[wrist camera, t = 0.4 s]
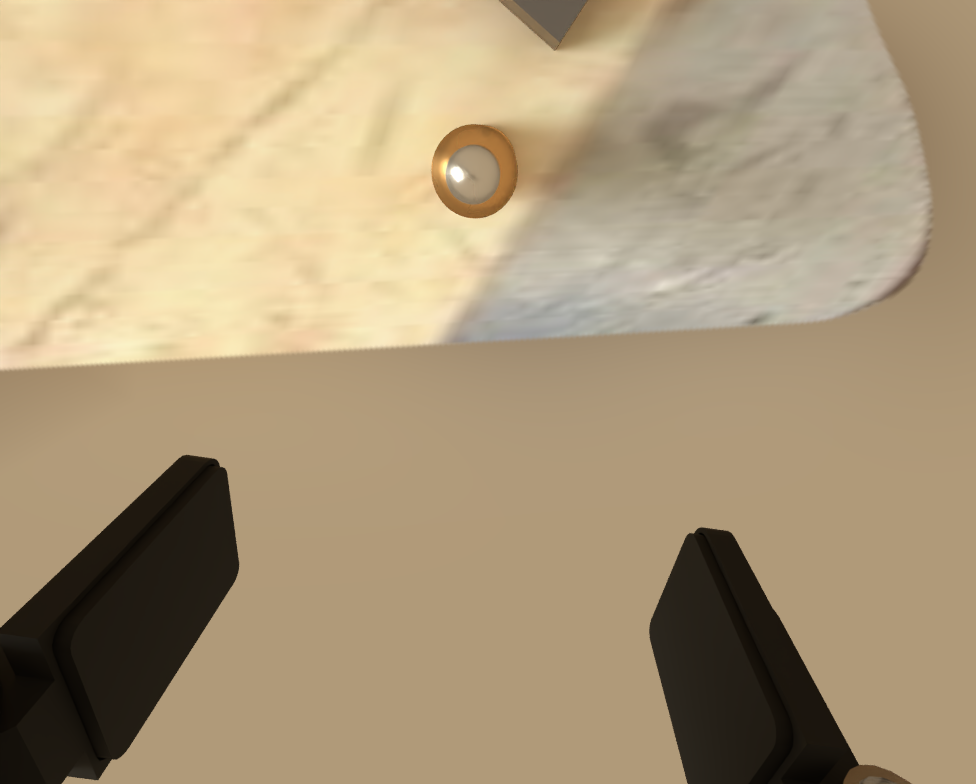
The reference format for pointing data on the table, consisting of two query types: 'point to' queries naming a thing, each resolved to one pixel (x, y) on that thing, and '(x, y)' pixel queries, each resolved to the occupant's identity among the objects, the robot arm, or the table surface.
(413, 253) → the table surface
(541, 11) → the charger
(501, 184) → the amber bottle
